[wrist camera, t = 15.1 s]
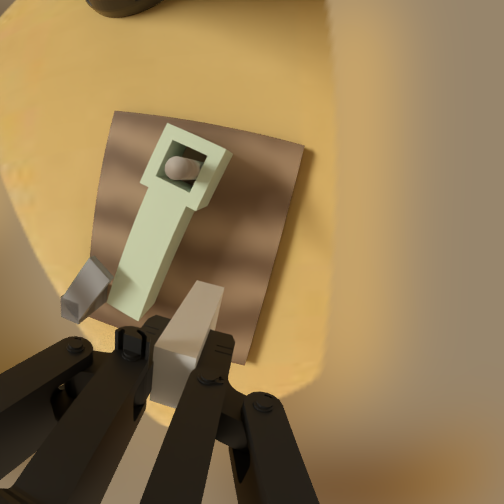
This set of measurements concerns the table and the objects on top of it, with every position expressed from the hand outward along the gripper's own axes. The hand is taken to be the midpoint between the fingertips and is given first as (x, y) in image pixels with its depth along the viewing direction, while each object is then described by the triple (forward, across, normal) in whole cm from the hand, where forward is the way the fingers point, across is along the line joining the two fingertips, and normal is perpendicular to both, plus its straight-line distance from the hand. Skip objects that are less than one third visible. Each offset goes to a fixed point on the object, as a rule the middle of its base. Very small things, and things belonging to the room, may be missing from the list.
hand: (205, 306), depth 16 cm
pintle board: (+17, -6, -2) cm, 19 cm away
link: (+17, -8, 0) cm, 18 cm away
